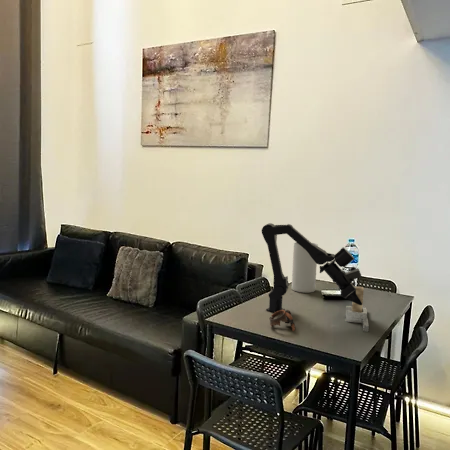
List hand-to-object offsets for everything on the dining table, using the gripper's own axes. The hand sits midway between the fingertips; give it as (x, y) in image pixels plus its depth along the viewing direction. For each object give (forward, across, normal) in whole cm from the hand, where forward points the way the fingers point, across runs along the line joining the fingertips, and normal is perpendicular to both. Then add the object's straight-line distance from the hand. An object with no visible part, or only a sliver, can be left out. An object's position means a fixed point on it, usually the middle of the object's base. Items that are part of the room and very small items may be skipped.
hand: (361, 301), depth 187 cm
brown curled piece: (-15, -21, +27) cm, 38 cm away
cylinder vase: (-14, +42, +25) cm, 51 cm away
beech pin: (+5, 0, +7) cm, 8 cm away
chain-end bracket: (+4, 0, +7) cm, 8 cm away
